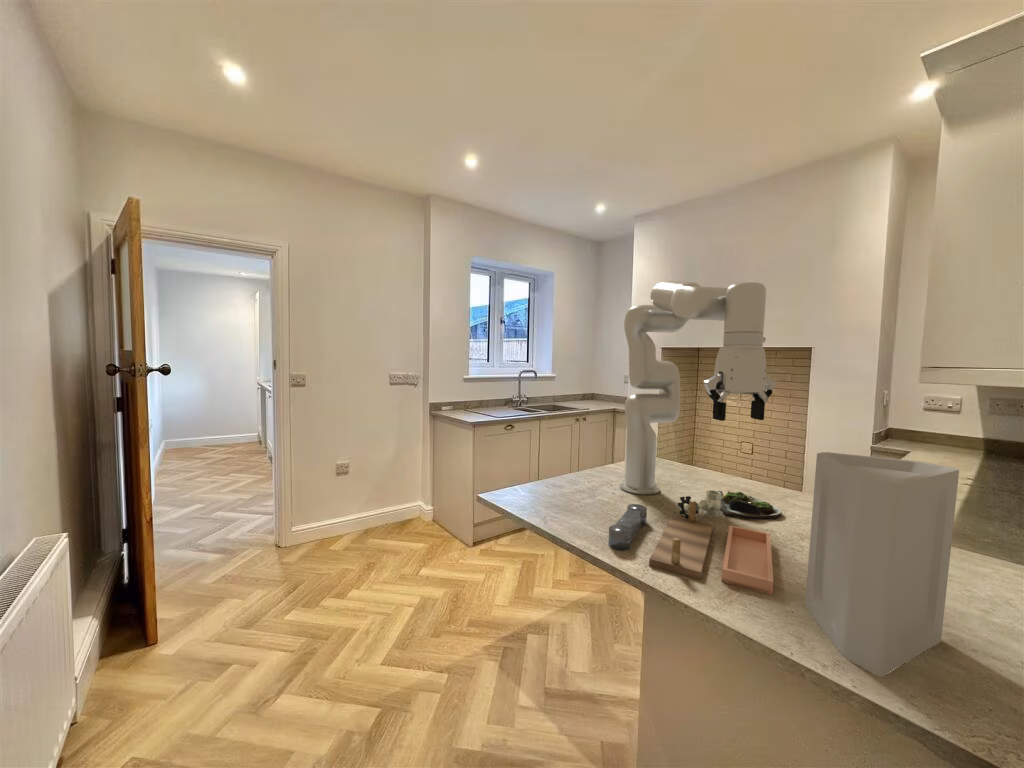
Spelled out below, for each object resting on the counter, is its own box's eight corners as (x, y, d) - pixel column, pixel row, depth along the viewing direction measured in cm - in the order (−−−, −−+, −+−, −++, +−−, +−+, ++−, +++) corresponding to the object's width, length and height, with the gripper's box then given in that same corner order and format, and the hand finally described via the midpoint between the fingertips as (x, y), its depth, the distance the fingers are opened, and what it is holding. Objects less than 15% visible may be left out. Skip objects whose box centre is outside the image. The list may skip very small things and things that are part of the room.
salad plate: (693, 496, 132) (693, 482, 132) (746, 496, 134) (747, 482, 133) (728, 521, 113) (730, 505, 113) (791, 521, 114) (792, 504, 114)
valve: (708, 509, 121) (676, 515, 116) (709, 487, 120) (677, 492, 115) (728, 518, 115) (695, 524, 110) (729, 495, 114) (696, 500, 109)
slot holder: (728, 535, 104) (729, 525, 103) (769, 543, 99) (770, 533, 99) (721, 581, 83) (722, 569, 82) (772, 595, 78) (773, 581, 78)
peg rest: (671, 520, 112) (673, 497, 111) (713, 529, 107) (714, 505, 106) (649, 565, 88) (650, 536, 88) (700, 579, 83) (702, 548, 83)
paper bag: (838, 591, 80) (850, 448, 78) (943, 640, 67) (961, 469, 64) (775, 616, 72) (786, 457, 69) (880, 678, 58) (898, 484, 56)
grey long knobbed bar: (629, 516, 114) (630, 502, 114) (648, 520, 112) (648, 506, 112) (605, 547, 96) (606, 530, 96) (627, 552, 94) (628, 535, 93)
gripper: (763, 342, 96) (758, 416, 97) (696, 340, 92) (692, 417, 93) (791, 342, 88) (785, 421, 90) (719, 340, 85) (715, 423, 86)
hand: (738, 419), depth 92 cm, fingers open, 9 cm apart
